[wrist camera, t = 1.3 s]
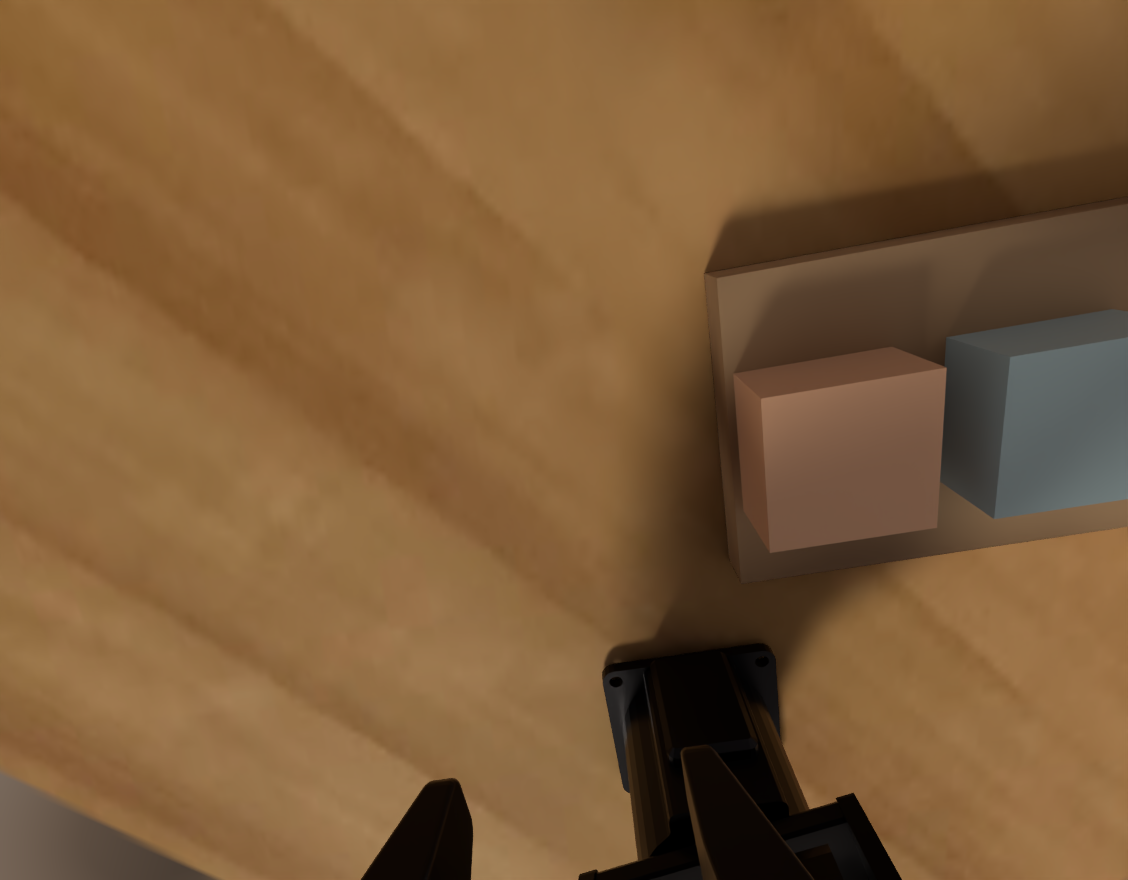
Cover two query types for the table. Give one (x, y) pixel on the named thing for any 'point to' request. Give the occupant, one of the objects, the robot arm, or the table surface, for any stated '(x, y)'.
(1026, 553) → the table surface
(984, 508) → the slate tile
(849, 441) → the terracotta tile
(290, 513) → the table surface
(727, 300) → the board
